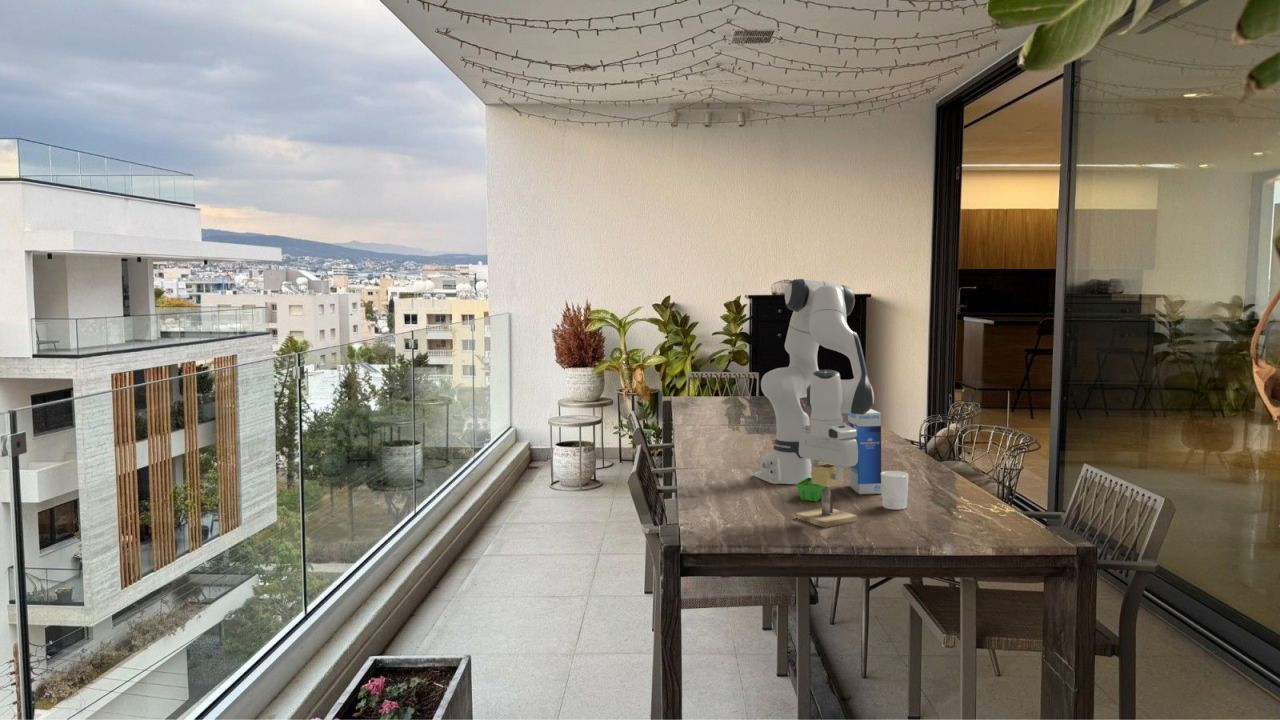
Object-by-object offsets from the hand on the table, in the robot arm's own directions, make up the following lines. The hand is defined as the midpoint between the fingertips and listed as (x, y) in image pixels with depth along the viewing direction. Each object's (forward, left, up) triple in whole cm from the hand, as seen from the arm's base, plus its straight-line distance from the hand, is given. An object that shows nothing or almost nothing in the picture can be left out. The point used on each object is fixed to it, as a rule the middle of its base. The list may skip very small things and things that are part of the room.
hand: (827, 477), depth 233 cm
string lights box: (-20, +35, -12) cm, 42 cm away
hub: (0, 0, -2) cm, 2 cm away
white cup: (+1, +26, -12) cm, 28 cm away
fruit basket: (-21, +15, -12) cm, 29 cm away
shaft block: (0, 0, -12) cm, 12 cm away
